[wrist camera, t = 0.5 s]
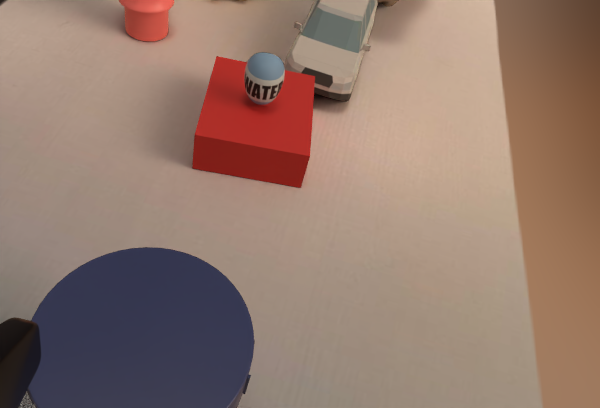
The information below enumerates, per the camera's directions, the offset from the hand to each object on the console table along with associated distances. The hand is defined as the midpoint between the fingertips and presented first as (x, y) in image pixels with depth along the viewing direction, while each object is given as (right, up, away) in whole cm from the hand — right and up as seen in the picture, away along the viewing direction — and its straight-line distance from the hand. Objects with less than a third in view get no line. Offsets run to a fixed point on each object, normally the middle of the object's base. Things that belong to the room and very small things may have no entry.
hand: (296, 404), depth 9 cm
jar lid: (-5, -1, +8) cm, 9 cm away
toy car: (+2, +15, +35) cm, 38 cm away
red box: (-3, +8, +28) cm, 29 cm away
